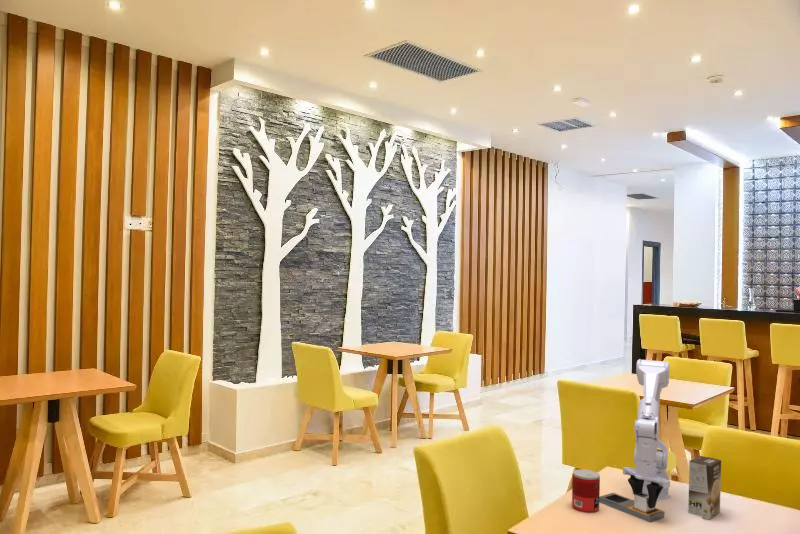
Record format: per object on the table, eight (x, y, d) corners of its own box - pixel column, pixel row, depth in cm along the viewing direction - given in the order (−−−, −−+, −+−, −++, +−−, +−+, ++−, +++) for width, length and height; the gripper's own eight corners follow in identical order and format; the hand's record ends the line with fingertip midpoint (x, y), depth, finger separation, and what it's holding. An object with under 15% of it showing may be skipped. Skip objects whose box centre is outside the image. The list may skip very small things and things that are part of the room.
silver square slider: (642, 511, 185) (642, 491, 185) (654, 516, 182) (654, 495, 182) (634, 514, 183) (634, 494, 183) (646, 519, 179) (646, 498, 179)
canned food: (600, 515, 182) (601, 478, 182) (572, 512, 184) (573, 476, 184) (597, 505, 190) (598, 470, 190) (571, 503, 192) (571, 468, 192)
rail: (612, 498, 196) (612, 492, 196) (664, 518, 181) (664, 511, 181) (598, 503, 192) (598, 496, 192) (650, 523, 177) (650, 516, 177)
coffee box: (710, 520, 180) (711, 466, 180) (687, 514, 185) (688, 460, 185) (720, 512, 187) (721, 459, 187) (698, 506, 191) (699, 454, 191)
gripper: (616, 454, 186) (616, 499, 186) (660, 468, 174) (659, 516, 174) (631, 451, 190) (630, 495, 190) (674, 464, 178) (673, 510, 178)
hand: (645, 504), depth 182 cm, fingers closed on silver square slider, 4 cm apart
